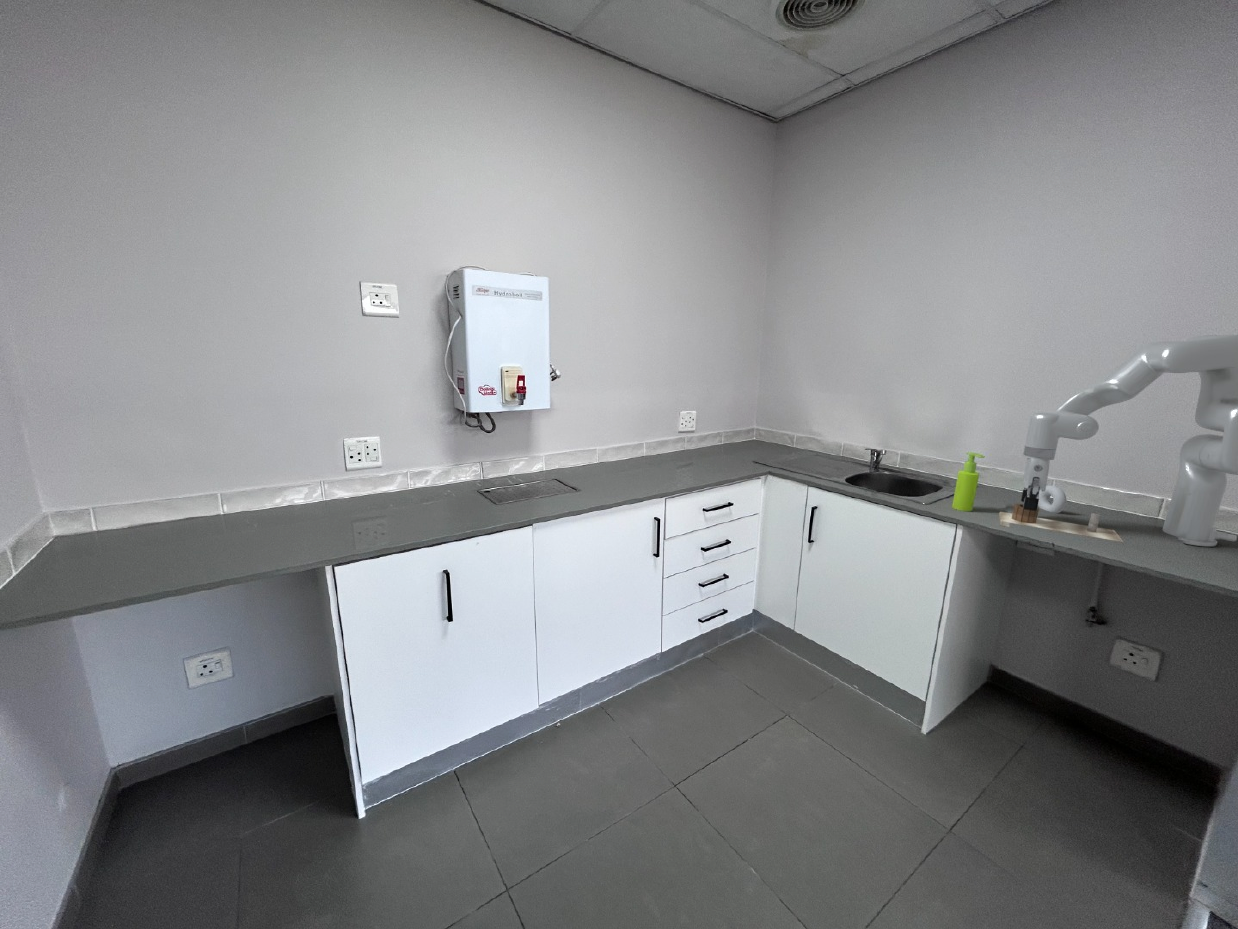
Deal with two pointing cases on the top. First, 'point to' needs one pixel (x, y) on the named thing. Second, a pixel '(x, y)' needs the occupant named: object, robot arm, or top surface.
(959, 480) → the soap dispenser
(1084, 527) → the peg board
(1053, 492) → the donut
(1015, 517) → the walnut ring
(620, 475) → the top surface
